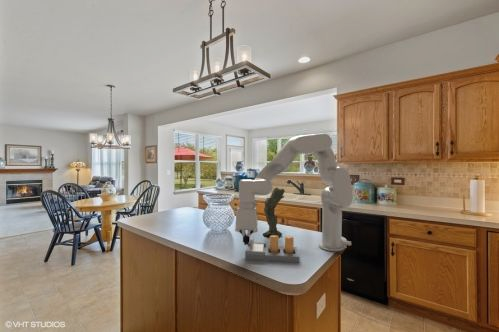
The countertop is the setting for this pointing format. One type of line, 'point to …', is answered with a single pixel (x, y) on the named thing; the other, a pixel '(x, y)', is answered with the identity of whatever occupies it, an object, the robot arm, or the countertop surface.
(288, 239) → the orange rounded peg
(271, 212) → the green twisted sculpture
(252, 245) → the lid
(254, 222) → the robot arm
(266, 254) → the housing
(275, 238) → the orange rounded capsule
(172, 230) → the countertop surface
